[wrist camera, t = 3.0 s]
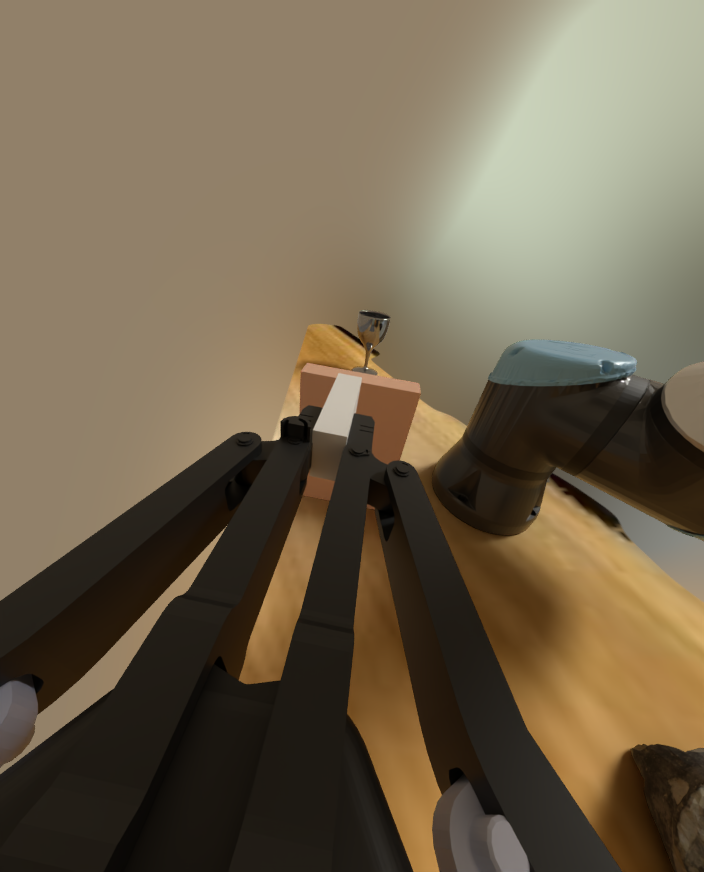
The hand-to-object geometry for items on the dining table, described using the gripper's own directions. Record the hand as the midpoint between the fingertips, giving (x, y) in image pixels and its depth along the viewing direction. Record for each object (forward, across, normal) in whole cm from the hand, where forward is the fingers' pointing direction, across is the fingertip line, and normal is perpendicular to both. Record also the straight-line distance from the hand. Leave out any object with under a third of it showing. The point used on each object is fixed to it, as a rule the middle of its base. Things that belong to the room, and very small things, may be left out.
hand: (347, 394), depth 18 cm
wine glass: (+56, 0, -21) cm, 60 cm away
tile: (+10, +1, -21) cm, 23 cm away
